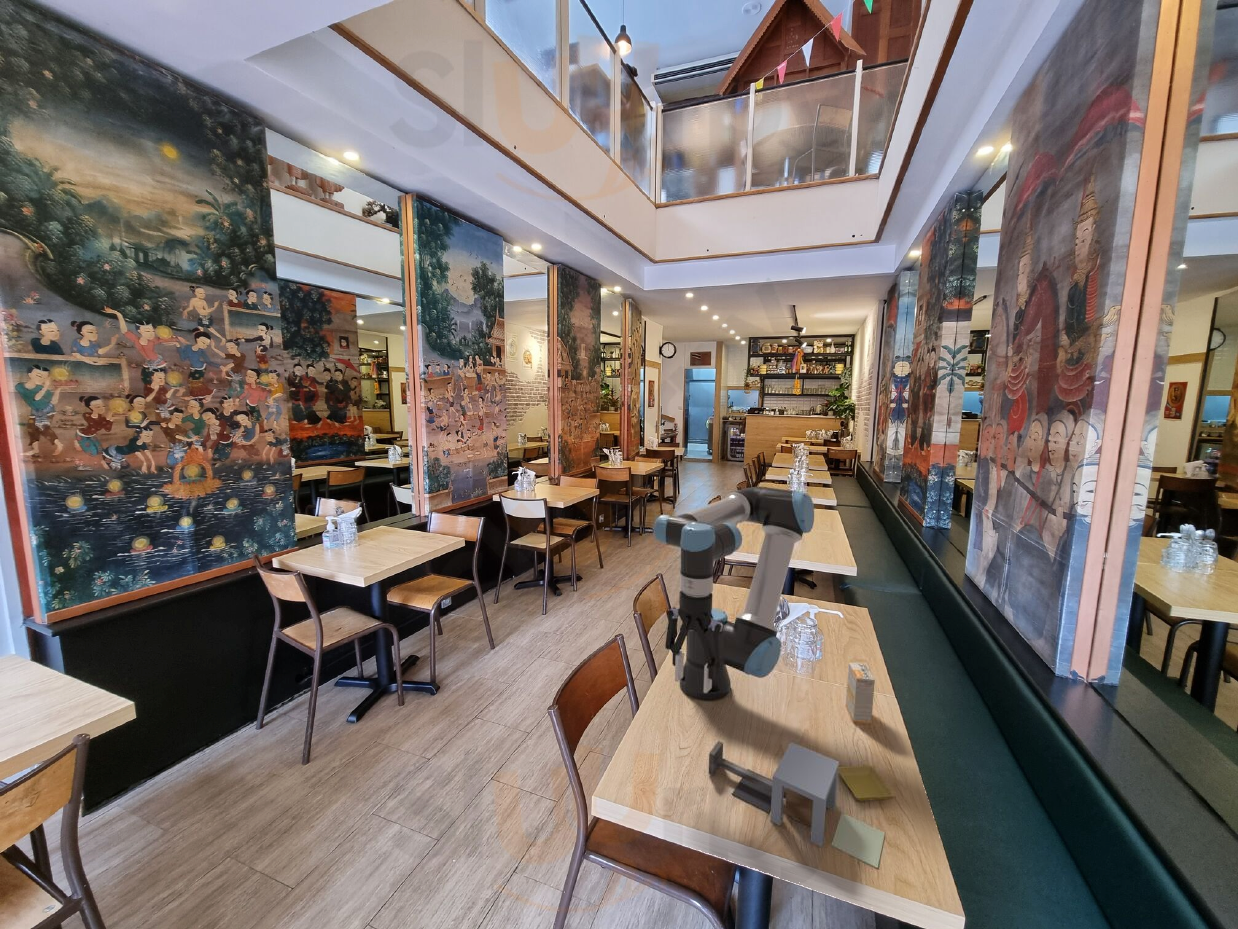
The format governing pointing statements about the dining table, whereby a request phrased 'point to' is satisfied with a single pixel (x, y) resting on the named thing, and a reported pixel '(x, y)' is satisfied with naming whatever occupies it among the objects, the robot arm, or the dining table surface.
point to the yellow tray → (865, 783)
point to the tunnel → (806, 785)
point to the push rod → (763, 785)
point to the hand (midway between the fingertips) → (693, 684)
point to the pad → (859, 840)
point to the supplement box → (860, 693)
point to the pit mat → (753, 794)
